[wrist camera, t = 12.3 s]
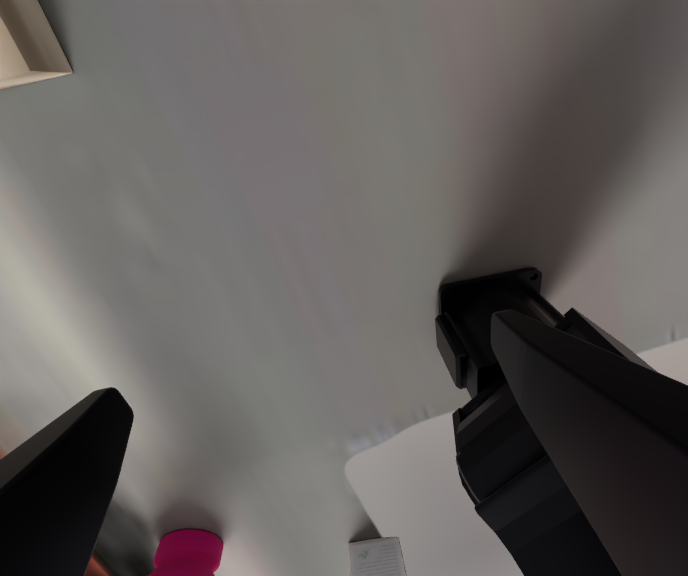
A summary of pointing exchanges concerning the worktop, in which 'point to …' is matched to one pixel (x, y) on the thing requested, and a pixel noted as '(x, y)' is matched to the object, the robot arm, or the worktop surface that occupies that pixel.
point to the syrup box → (376, 557)
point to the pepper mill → (188, 554)
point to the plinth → (28, 45)
